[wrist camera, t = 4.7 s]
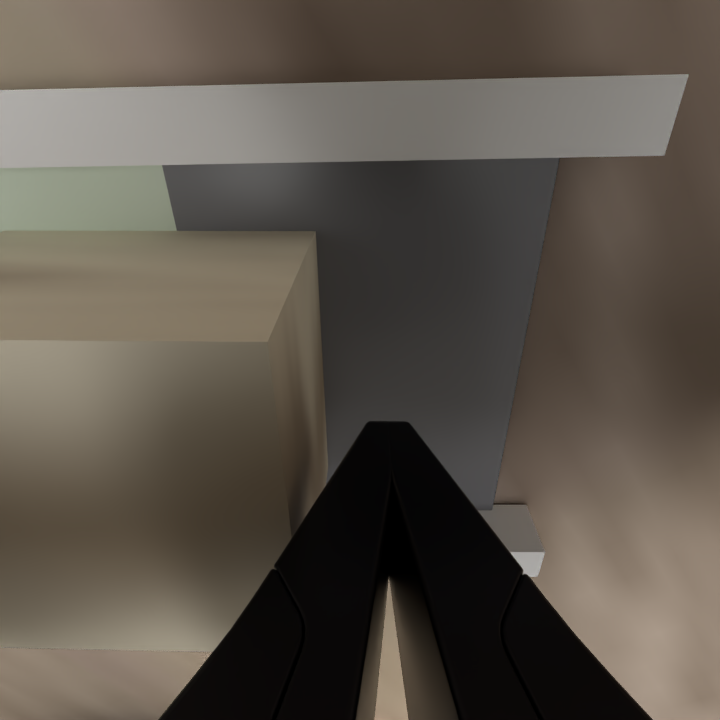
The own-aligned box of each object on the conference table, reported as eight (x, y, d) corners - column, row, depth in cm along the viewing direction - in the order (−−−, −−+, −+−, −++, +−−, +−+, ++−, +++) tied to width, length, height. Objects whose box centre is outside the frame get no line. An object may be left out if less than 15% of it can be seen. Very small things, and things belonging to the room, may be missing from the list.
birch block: (327, 465, 11) (305, 654, 7) (99, 462, 11) (-40, 646, 8) (315, 230, 8) (267, 342, 4) (5, 230, 8) (-308, 337, 5)
